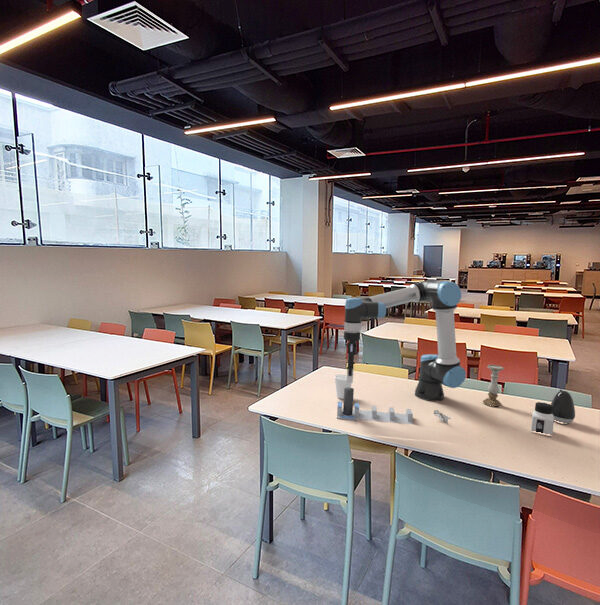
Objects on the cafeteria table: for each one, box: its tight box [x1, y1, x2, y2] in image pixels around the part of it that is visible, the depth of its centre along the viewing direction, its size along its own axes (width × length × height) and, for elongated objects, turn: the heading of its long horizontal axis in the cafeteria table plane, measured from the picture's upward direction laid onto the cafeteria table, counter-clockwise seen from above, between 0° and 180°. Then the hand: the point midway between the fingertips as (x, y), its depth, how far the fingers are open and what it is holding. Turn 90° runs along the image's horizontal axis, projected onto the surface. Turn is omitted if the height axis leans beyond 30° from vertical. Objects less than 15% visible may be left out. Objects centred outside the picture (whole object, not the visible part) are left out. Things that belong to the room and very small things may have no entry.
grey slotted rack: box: [336, 401, 414, 425], centre depth 178 cm, size 34×11×5 cm, turn 82°
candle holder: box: [482, 364, 505, 407], centre depth 199 cm, size 9×9×20 cm
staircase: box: [433, 409, 451, 425], centre depth 174 cm, size 6×4×6 cm, turn 24°
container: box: [530, 401, 555, 436], centre depth 168 cm, size 8×8×13 cm
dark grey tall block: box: [342, 387, 355, 415], centre depth 179 cm, size 4×4×12 cm
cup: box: [334, 374, 353, 400], centre depth 202 cm, size 10×10×11 cm
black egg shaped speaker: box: [550, 389, 576, 424], centre depth 179 cm, size 10×10×15 cm
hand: (349, 380), depth 178 cm, fingers open, 6 cm apart
